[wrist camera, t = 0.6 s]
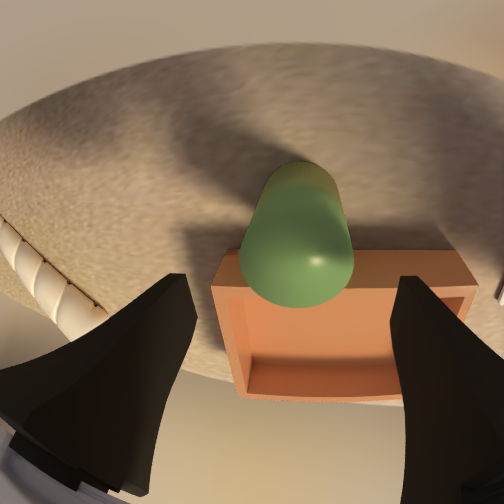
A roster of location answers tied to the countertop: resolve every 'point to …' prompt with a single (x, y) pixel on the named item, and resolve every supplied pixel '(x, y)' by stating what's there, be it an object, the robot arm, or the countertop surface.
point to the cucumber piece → (298, 239)
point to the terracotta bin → (330, 328)
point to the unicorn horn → (50, 287)
